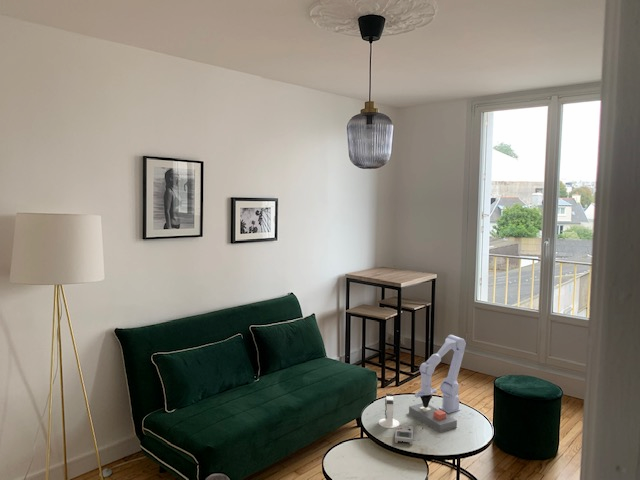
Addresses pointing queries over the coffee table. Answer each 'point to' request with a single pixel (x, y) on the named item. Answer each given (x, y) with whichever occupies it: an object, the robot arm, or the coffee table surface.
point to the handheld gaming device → (404, 434)
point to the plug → (425, 409)
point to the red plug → (439, 415)
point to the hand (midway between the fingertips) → (425, 407)
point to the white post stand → (389, 414)
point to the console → (432, 418)
